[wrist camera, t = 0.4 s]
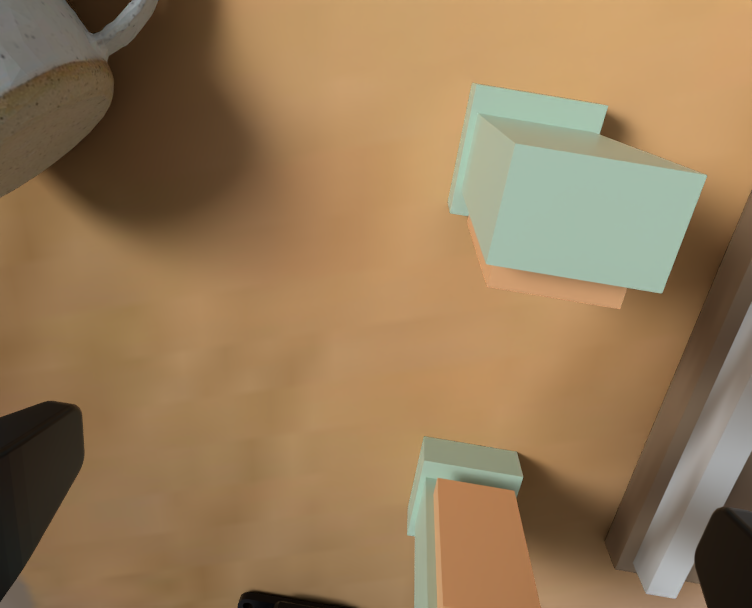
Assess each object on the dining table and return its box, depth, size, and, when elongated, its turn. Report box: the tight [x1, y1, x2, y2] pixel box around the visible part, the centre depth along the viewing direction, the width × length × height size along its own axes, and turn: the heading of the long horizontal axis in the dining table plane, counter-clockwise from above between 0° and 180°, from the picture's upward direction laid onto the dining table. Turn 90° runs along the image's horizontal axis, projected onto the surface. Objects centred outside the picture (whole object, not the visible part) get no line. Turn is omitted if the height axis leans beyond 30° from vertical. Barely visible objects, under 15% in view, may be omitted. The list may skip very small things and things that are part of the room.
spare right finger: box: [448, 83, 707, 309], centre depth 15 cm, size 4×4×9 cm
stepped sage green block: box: [407, 436, 541, 608], centre depth 21 cm, size 4×4×9 cm
